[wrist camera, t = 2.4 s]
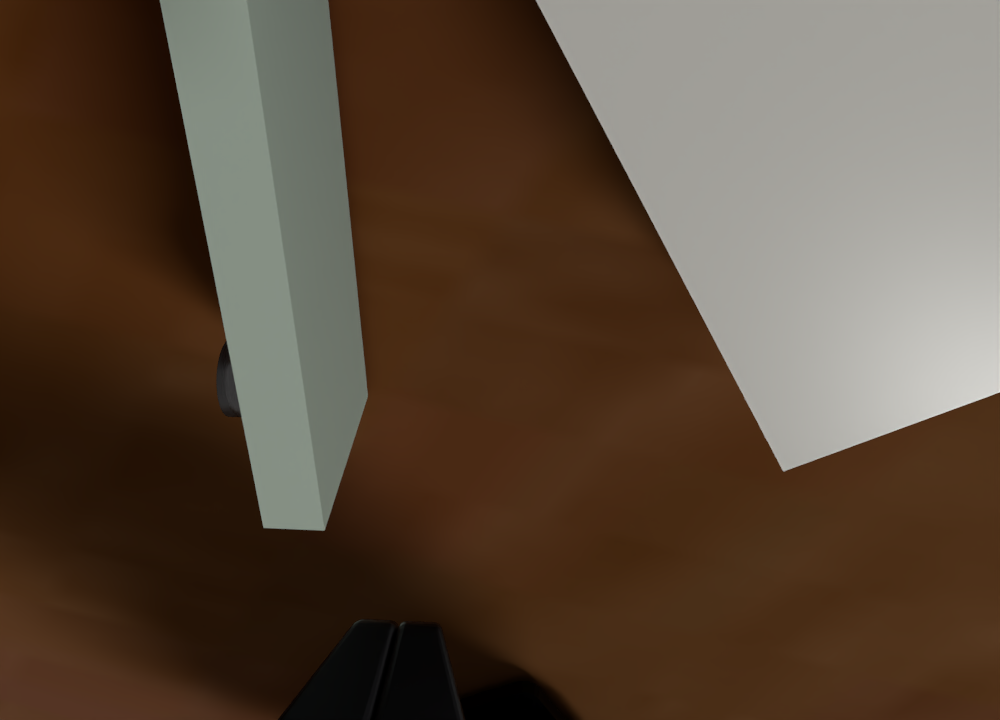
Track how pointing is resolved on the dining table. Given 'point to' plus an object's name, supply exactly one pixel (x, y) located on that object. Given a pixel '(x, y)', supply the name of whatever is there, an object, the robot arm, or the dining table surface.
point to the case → (816, 193)
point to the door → (276, 238)
